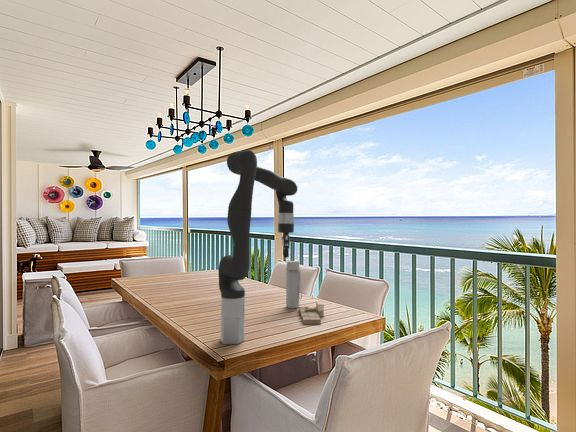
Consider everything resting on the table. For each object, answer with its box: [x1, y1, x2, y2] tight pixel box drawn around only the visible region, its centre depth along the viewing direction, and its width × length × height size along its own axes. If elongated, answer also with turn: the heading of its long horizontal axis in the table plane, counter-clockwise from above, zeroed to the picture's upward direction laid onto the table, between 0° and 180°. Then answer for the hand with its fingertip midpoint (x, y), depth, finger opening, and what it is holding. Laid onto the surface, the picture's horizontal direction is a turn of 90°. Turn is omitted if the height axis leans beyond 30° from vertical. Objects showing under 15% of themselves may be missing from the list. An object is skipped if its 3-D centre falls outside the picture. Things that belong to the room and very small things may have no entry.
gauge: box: [304, 301, 325, 317], centre depth 164 cm, size 5×9×6 cm, turn 93°
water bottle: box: [285, 260, 303, 309], centre depth 178 cm, size 9×8×25 cm
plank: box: [298, 306, 322, 325], centre depth 160 cm, size 22×8×2 cm, turn 3°
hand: (285, 256), depth 156 cm, fingers open, 8 cm apart
